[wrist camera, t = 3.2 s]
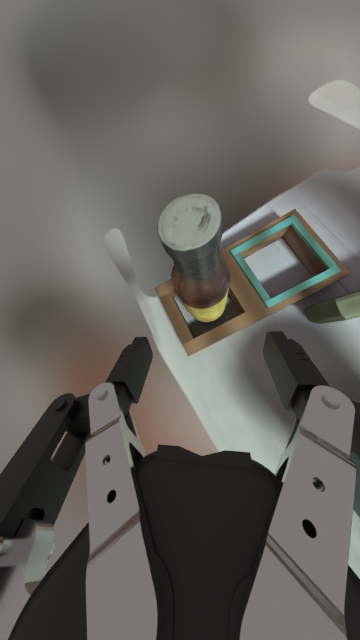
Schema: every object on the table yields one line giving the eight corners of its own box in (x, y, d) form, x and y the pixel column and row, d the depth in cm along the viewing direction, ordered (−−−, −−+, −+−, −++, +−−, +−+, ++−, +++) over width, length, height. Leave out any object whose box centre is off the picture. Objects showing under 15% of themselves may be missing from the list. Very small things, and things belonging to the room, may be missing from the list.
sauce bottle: (232, 307, 28) (280, 217, 8) (205, 331, 28) (191, 297, 9) (206, 282, 29) (197, 159, 10) (181, 305, 29) (124, 227, 10)
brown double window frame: (286, 223, 28) (296, 206, 25) (334, 282, 25) (353, 272, 22) (160, 293, 31) (154, 287, 27) (190, 355, 28) (187, 356, 24)
